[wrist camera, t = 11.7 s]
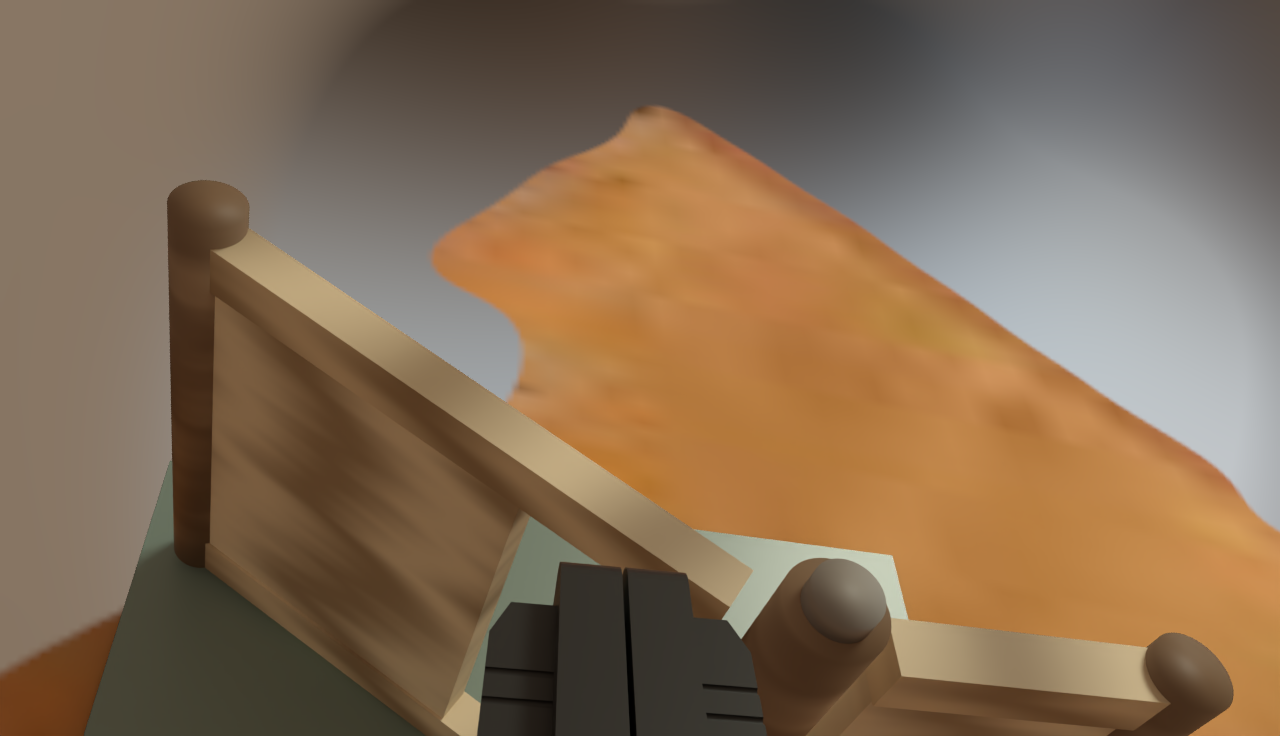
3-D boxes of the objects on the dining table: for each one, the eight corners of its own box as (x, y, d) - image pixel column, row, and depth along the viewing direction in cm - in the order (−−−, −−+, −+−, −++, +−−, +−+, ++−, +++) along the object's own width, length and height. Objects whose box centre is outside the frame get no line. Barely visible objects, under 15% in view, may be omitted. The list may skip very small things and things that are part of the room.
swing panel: (597, 805, 33) (769, 546, 23) (565, 853, 32) (733, 602, 22) (204, 512, 36) (209, 170, 26) (161, 546, 35) (149, 200, 25)
